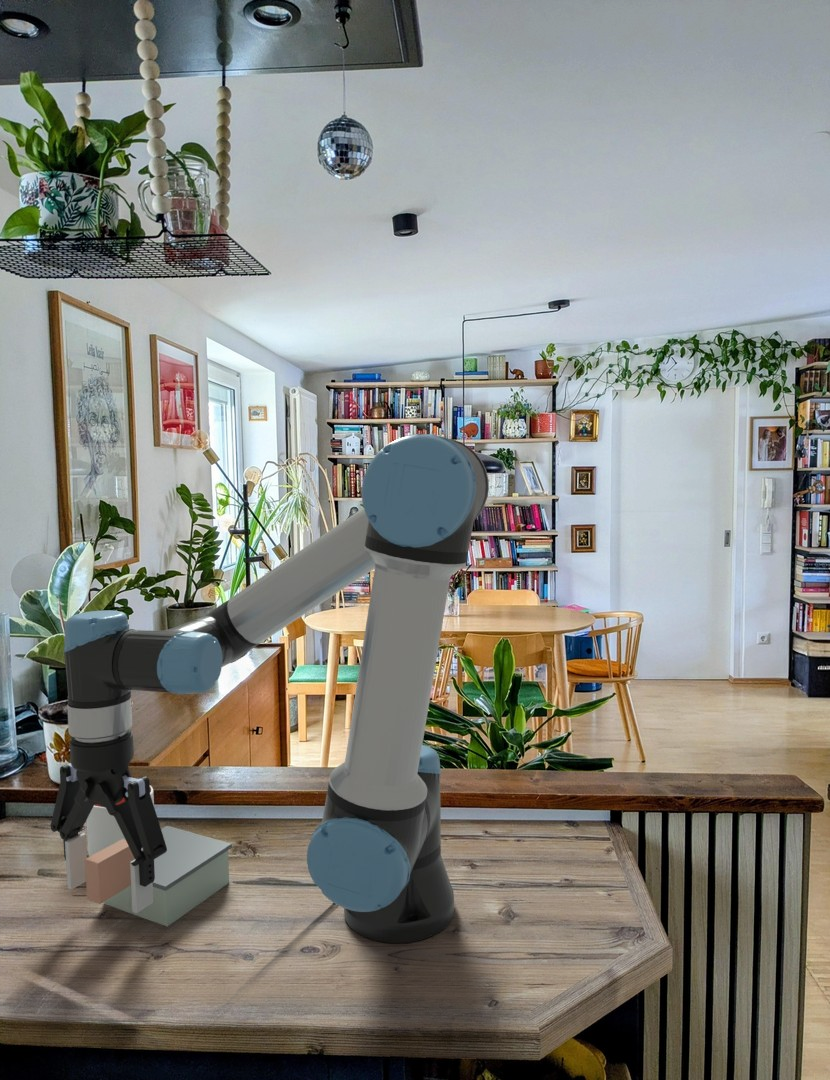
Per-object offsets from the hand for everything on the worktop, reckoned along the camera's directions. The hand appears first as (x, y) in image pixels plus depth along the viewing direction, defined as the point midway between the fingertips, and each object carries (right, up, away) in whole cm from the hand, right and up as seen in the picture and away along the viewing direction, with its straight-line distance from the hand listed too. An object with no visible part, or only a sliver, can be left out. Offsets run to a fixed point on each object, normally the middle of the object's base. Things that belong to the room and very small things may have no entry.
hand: (109, 895), depth 99 cm
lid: (+3, 0, +6) cm, 7 cm away
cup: (-7, -4, +22) cm, 23 cm away
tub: (+5, -5, +9) cm, 11 cm away
